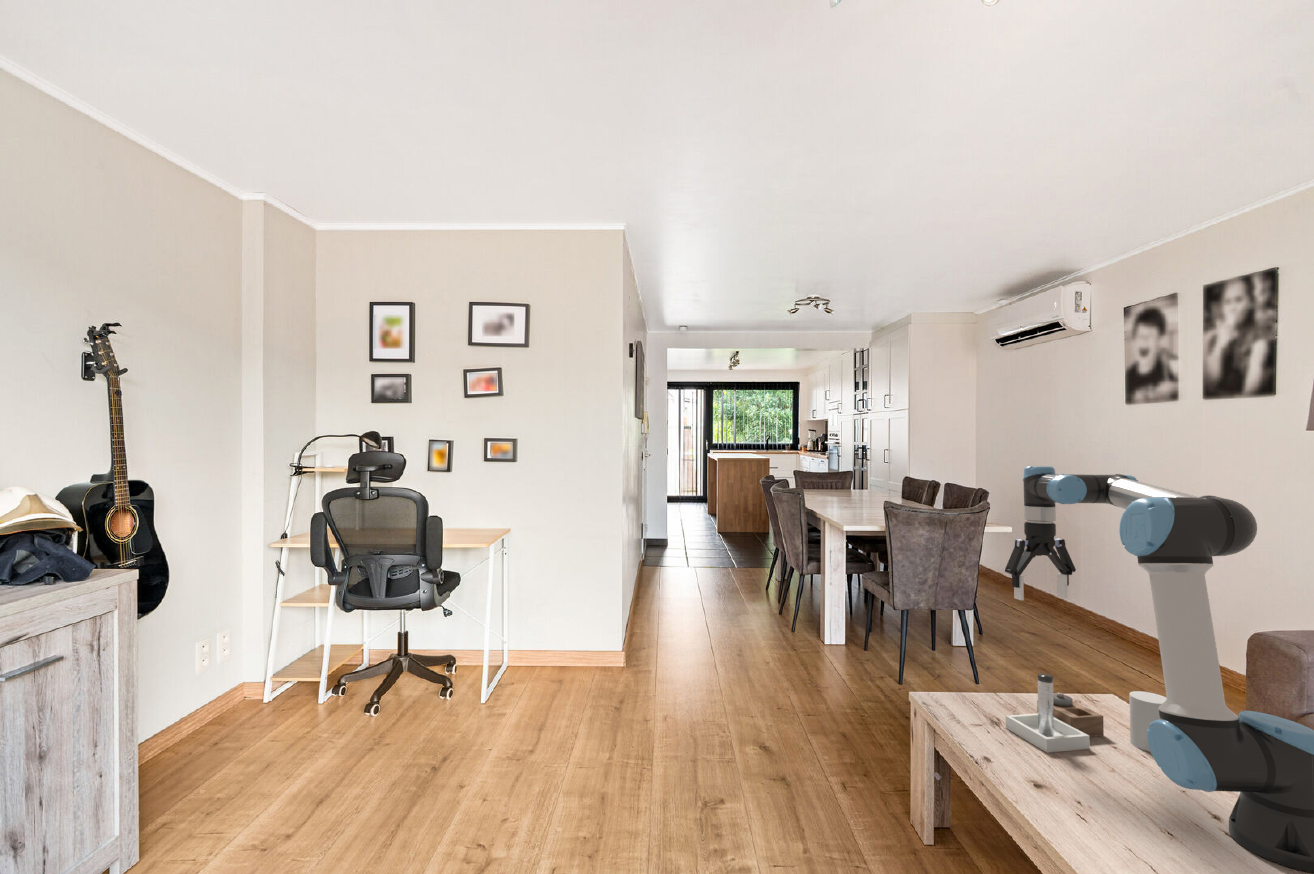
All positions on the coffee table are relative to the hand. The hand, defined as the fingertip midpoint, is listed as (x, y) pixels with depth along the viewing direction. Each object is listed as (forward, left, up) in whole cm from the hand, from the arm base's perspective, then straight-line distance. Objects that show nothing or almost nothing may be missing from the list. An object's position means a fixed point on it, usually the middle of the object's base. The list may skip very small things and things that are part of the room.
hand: (1040, 598), depth 175 cm
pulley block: (-6, -3, -33) cm, 33 cm away
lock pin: (-11, +9, -32) cm, 35 cm away
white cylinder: (-19, -14, -33) cm, 40 cm away
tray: (-11, +9, -33) cm, 36 cm away
